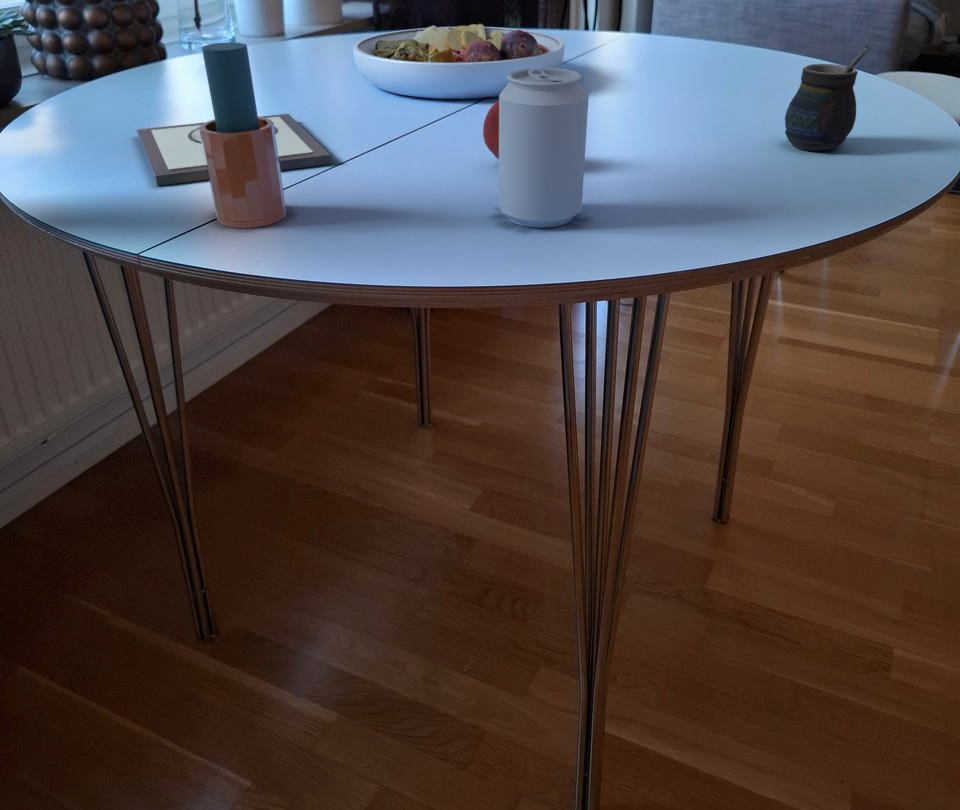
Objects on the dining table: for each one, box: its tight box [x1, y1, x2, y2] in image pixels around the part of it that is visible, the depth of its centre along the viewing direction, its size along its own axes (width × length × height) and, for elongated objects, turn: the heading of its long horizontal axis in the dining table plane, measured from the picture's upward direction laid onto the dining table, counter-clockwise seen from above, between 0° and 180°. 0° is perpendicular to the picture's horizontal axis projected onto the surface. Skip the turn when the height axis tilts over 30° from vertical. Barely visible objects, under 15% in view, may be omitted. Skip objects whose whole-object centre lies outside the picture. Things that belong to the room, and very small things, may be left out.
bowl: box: [352, 23, 565, 100], centre depth 123 cm, size 30×30×8 cm
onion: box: [482, 99, 499, 161], centre depth 88 cm, size 6×6×8 cm
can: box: [498, 68, 590, 229], centre depth 74 cm, size 8×8×12 cm
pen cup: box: [199, 116, 287, 229], centre depth 76 cm, size 6×6×8 cm
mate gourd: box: [784, 45, 872, 152], centre depth 93 cm, size 7×8×10 cm
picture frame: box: [136, 113, 332, 187], centre depth 96 cm, size 18×20×1 cm
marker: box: [201, 42, 260, 133], centre depth 74 cm, size 4×4×14 cm
